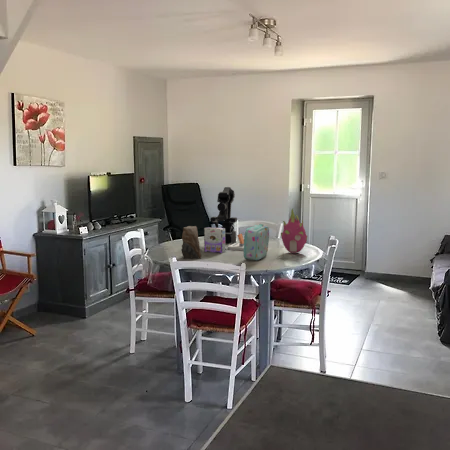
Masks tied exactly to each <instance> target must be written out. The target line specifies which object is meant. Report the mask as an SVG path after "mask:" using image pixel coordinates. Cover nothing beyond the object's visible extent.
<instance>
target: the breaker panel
mask: <svg viewBox="0 0 450 450" xmlns="http://www.w3.org/2000/svg"><path fill="white" fill-rule="evenodd" d="M227 250H232V251H244V245H243V244H240V242H238V243H237V242H236V243H234V244H232V245H231V244H230V245H228V246H227Z"/></svg>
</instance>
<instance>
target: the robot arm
mask: <svg viewBox="0 0 450 450" xmlns="http://www.w3.org/2000/svg"><path fill="white" fill-rule="evenodd" d="M234 200H235V190H233V189H232V187H229V186H227V187H223V191H219V193H218V194H217V202H216V203H218V204H217V210H218V211H219V212H218V215H217V216H211V217H210V219H209V220H210V222H211V223H212V224H214V226H215V228H219V222H222V223H221V224H222V225H221V226H220V228H225V244H231V243H232V231H235V230H234V228H233V227H234V226H233V225H234V224H235V223H237V222H238V218H237V217H234V216H233V217H231V216H232V215H231V214H232V203H234Z"/></svg>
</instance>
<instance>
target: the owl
mask: <svg viewBox="0 0 450 450" xmlns="http://www.w3.org/2000/svg"><path fill="white" fill-rule="evenodd" d="M181 234H182V235H181V239H182V245H181V254H182V257H183V260H188V259H189V260H190V259H191V260H195V259H202V253H201V246H200V241H199V240H200V239H199V235H198V234H199V232H198V227H197V225H194V226H193V225H188V226H185V227H182V233H181Z"/></svg>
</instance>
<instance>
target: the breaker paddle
mask: <svg viewBox="0 0 450 450" xmlns="http://www.w3.org/2000/svg"><path fill="white" fill-rule="evenodd" d="M236 237H238V240H239V243H240V244H243V245H244V235H243V234H242V233H239V234H236Z"/></svg>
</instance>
